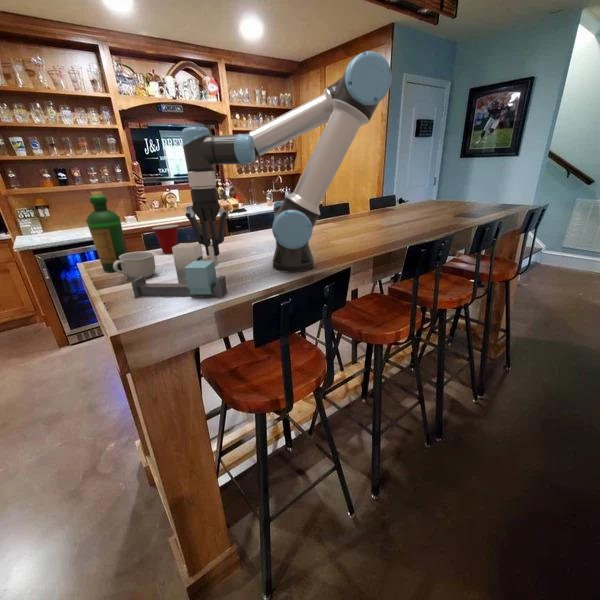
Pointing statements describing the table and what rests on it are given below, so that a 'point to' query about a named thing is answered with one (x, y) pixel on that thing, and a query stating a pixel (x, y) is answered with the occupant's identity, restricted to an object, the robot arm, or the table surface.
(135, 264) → the teacup
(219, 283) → the rail
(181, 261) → the cabinet
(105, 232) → the bottle
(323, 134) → the robot arm
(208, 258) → the button
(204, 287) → the carriage
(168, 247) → the plastic cup
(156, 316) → the table surface
